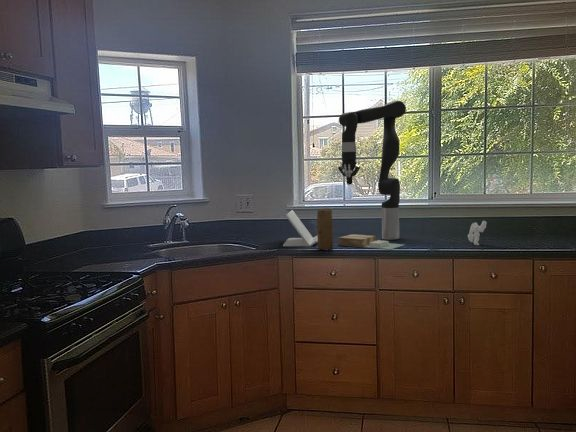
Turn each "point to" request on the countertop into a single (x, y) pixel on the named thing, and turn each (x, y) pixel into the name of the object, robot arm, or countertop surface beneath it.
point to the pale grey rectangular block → (378, 243)
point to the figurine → (476, 232)
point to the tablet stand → (306, 236)
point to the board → (356, 240)
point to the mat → (390, 246)
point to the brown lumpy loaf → (324, 229)
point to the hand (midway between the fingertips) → (349, 184)
